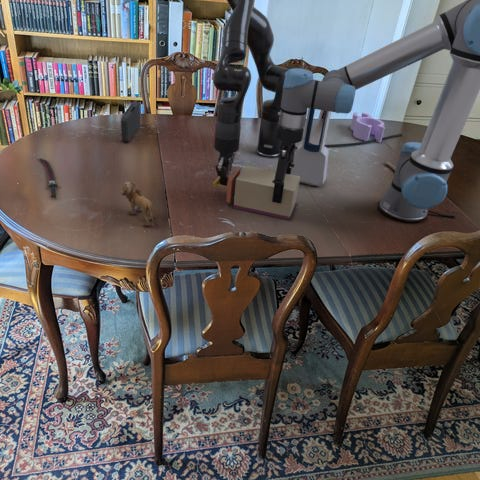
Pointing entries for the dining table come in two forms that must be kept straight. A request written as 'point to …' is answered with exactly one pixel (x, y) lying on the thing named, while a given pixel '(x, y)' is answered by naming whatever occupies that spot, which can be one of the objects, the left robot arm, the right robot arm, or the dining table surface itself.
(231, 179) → the drawer
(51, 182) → the sword
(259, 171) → the cream rectangular box
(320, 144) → the electronic device
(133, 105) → the handheld gaming console
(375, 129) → the clip
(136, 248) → the dining table surface
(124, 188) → the lion figurine
